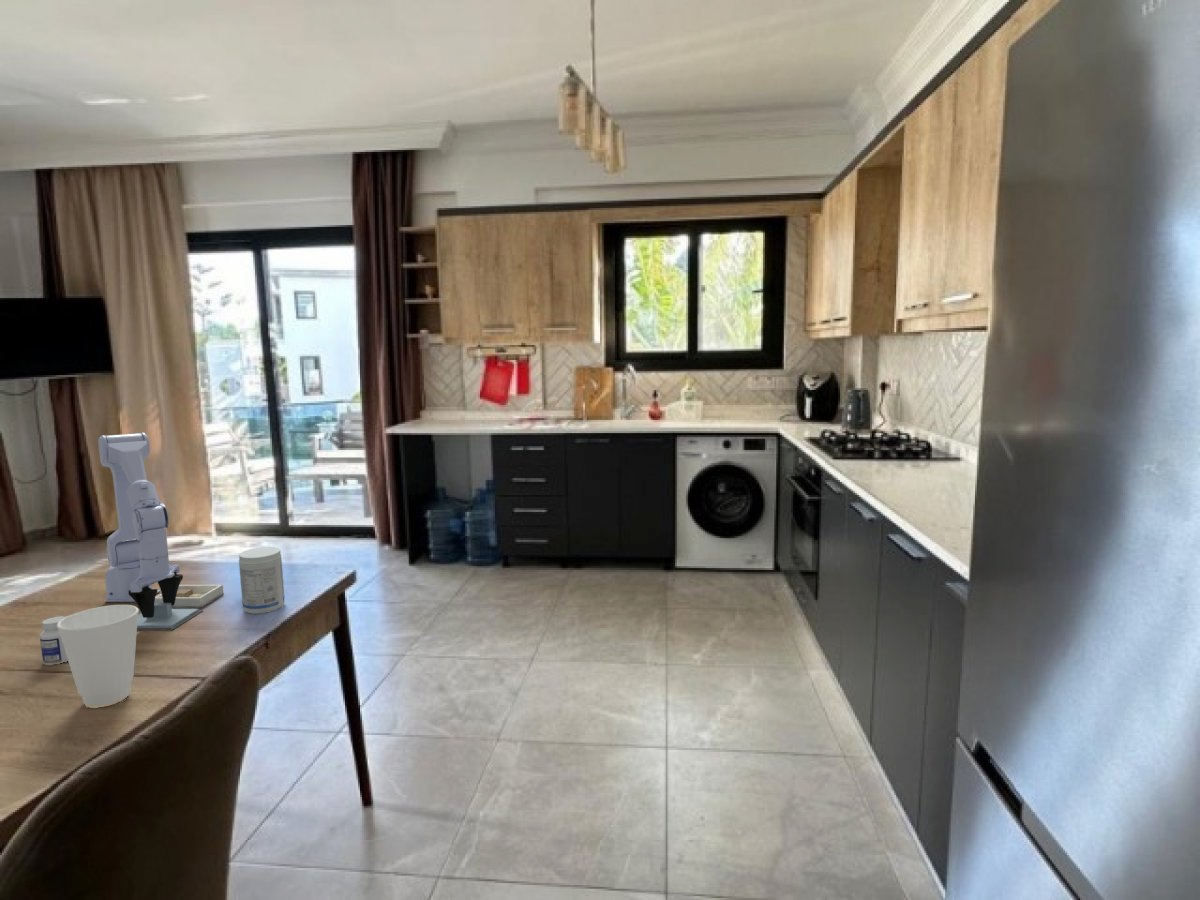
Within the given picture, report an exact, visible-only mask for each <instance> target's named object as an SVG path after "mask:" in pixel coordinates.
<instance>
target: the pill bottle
mask: <svg viewBox="0 0 1200 900" xmlns="http://www.w3.org/2000/svg"><path fill="white" fill-rule="evenodd" d="M65 617H66V616H64V615H63V616H53V617H49V618H47V619H44V620H43V621H42V622H41V625H42V626H41V627H42V630H43V631H41V633H40V634H39V641H40V649H41V657H42V664H44V666H54V665H53V664H57V665H61V664H60V663H62V664H64V663H63V662H65V663H67V661H68V658H67V655H66V652H65V649H64V646H63V643H62V640H61V636H60V633H59V630H58V628H57V624H58V622H59V621H60V620H62V619H63V618H65Z"/></svg>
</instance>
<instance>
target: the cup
mask: <svg viewBox="0 0 1200 900" xmlns="http://www.w3.org/2000/svg"><path fill="white" fill-rule="evenodd" d="M139 612H140V609H139V607H138V606H135V605H133V604H132V605H131V604H112V605H104V606H103V605H102V606H98V607H97V606H96V607H93V608H89V609H85V610H81V611H78V612H74V613H72V614H69V615H68V616H65V618H63V619H62V620H60V621H59V622H58V624H57V628H58V630H59V633H60V636H61V640H62V643H63V646H64V649H65V652H66V655H67V658H68V665H69V667H70V671H71V674H72V677H73V681H74V683H75V687H76V690H77V693H78V695H79V696H81V698H82V702H83V705H84V704H85V705H87V706H101V705H106V704H110V703H114V702H117V701H120V700H122V699H123V698H125V697H127V696H128V695H129V694H130V692H131V693H132V683H133V681H134V673H135V659H136V647H137V646H136V644H137V634H138V633H137V632H138V630H137V620H138V614H139ZM130 695H131V694H130Z"/></svg>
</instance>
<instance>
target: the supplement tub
mask: <svg viewBox="0 0 1200 900" xmlns="http://www.w3.org/2000/svg"><path fill="white" fill-rule="evenodd" d="M238 558H239V559H238V565H239V566H238V567H239V579H240V590H241V599H242V600H241V602H242V610H243V611H244V612H245V613H248V614H253V615H254V614H255V615H257V614H258V615H259V614H267V613H271V612H274V611H277V610H278V608H279V609H281V608H282V607H283V606H284V604H285V602H286V601H285V600H286V599H285V588H284V587H285V586H284V574H283V572H284V571H283V561H282V554H281V549H280V548H279V547H273V546H263V547H262V546H261V547H255V548H250V549H247V550H243V551H241V552H240V553H239V554H238ZM266 612H267V613H266Z"/></svg>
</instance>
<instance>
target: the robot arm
mask: <svg viewBox="0 0 1200 900" xmlns="http://www.w3.org/2000/svg"><path fill="white" fill-rule="evenodd" d="M149 440H150V439H149V437H148V435H147V434H146V433H145V432H140V433H139V432H138V433H128V434H127V433H125V434H112V435H111V434H110V435H104V434H102V435H100V436H99V437H98V440H97V441H98V443H97V444H98V445H97V446H98V452H99V453H98V454H99V461H100V464H101V466H102V467H104V468H105V467H106V468H108V469H109V470H110V472H111V474H112V482H113V489H114V491H113V492H114V499H115V508H116V515H117V517H116V518H117V522H118V523H117V524H118V525H117V527H118V529H116V530H115V531H114V532H112V534H110V535H109V536H108V537H107V539H106V558H107V562H108V564H109V567H108V568H107V570H106V572H105V576H104V581H105V591H106V599H104V601H105V602H106V603H109V602H110V603H112V602H113V603H114V602H115V603H116V602H117V603H118V602H119V603H124V602H125V603H127V602H128V603H131V602H133V603H136V606H137V608H138V609H139V612H140V613H141V614H142V616H143V618H152V617H154V602H155V597H156V596H157V594H158V593H160V594H162V598H163V602H164V603H171V605H174V604H175V600H176V594H177V590H178V587H179V585H181V582H182V581H183V579H184V575H183V574H182V573H181V574H180V571H181V570H180V564H170V559H169V548H168V546H169V545H168V537H167V536H168V535H167V529H169V525H170V518H169V513H168V509H167V507H166V505H165V504H164V502H163V501H160V498H159V494H158V492H157V489H156V485H155V484H154V483H153V482H151V481H149V480H148V478H147V473H146V467H145V463H144V462H145V461H146V460H147V459H148V456H149V454H150V451H151V449H150V448H151V446H150V441H149ZM156 583H157V585H158V586H159V589H157V588H153V585H154V584H156Z"/></svg>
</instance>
